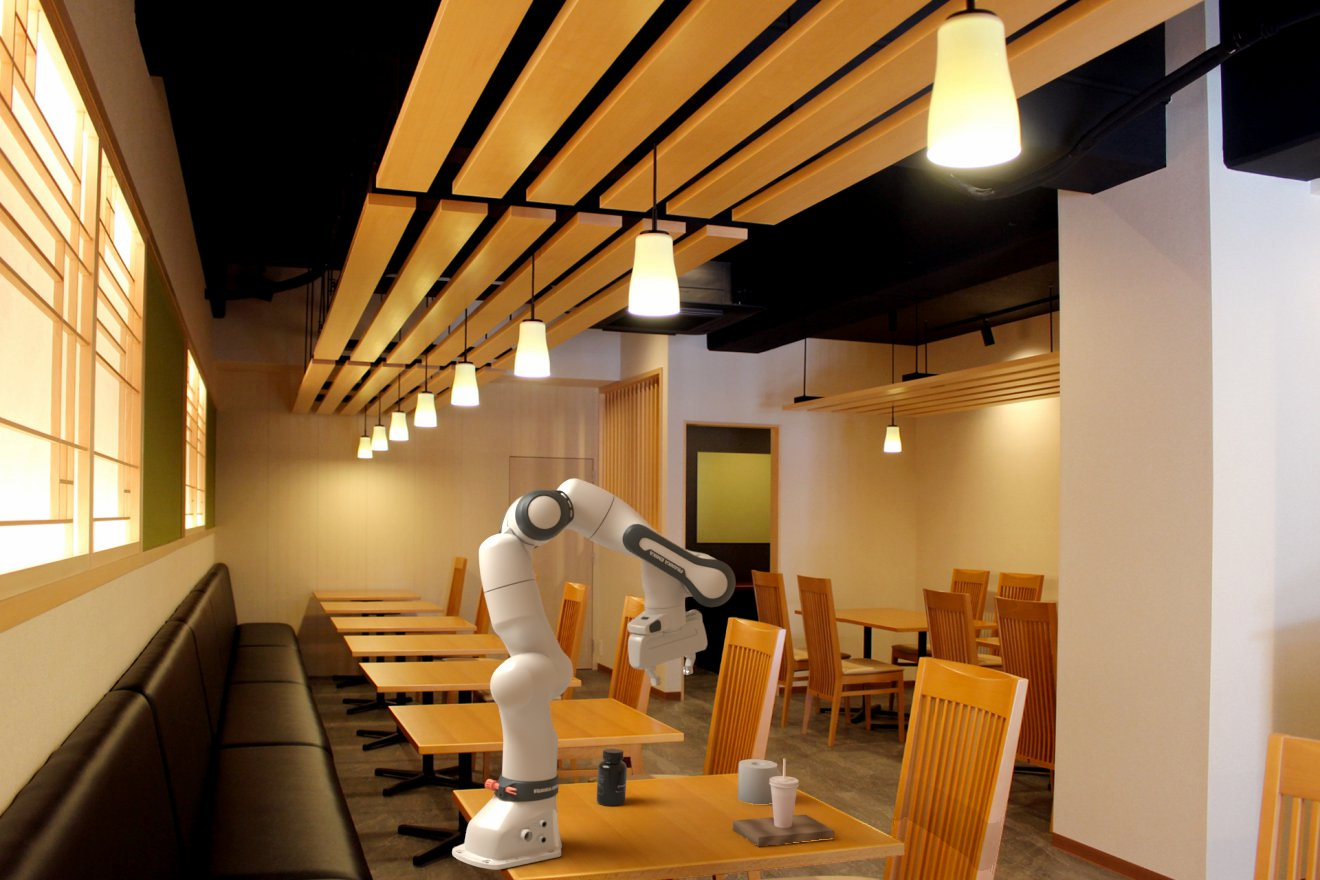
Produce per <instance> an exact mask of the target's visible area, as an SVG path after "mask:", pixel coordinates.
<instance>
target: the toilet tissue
mask: <svg viewBox="0 0 1320 880" xmlns="http://www.w3.org/2000/svg"><path fill="white" fill-rule="evenodd" d="M737 773H738V774H737V800H738V799H739V800H741V801H743V802H747V803H753V804H769V803H772V793H771V785H770V784H769V782H770V778H771V777H775V776H783V773H781V771H780V770H779V769H778V763H776V762H774V761H772V760H766V759H758V758H757V759H756V758H755V759H754V758H753V759H752V758H751V759H750V758H749V759H744V760H740V761H739V762H738V772H737ZM739 800H738V801H739Z"/></svg>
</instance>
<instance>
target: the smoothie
mask: <svg viewBox="0 0 1320 880" xmlns="http://www.w3.org/2000/svg"><path fill="white" fill-rule="evenodd" d="M786 759H787V758H785V757H784V758H783V759H782V760H783V761H782V762H783V763H782V765H783V766H782V776H775V777H771V778H770V782H769V784H770V785H771V793H772V804H771V805H772V814H773V817H774V825H775V826H776V827H780V828H789V827H791V826H792V820H793V816H794V812H795V807H796V806H795V804H796V797H797V792H798V791H797V790H798V787H799V786H800V783H799V782H800V781H799V779H797V778H796V777H794V776H793V777H792V776H786V774H787V773H786V768H787V765H786V763H787V760H786Z"/></svg>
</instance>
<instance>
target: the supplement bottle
mask: <svg viewBox="0 0 1320 880" xmlns="http://www.w3.org/2000/svg"><path fill="white" fill-rule="evenodd" d="M601 756H602V757H601V758H602V761H599V764H598V765H597V784H596V802H597V804H599V805H601V806H605V807H618V806H619V807H620V806H622V805H624V804H625V803H626V795H627V773H628V771H627V770H628V767H627V764H626V763H625V762H624V761H623V760H624V751H623V750H622V749H619V748H606V749H603V751H602V755H601Z"/></svg>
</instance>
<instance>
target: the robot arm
mask: <svg viewBox="0 0 1320 880" xmlns="http://www.w3.org/2000/svg"><path fill="white" fill-rule="evenodd" d="M564 529H566V530H571V531H573V532H577V533H578V534H579V535H581V536H582V537H584V538H586V539H588V541H591V542H593V543H594V544H596V545H599V546H601V547H603V548H606V549H608V550H611V551H613V552H617V553H619V554H620V553H621V554H623V555H626V556H629V557H634V558H635V559H639V560H640V574H641V586H642V587H641V588H642V590H643V593H644V603H643V607H644V610H643V611H642V612H641V613H640V614H639V615H637V616H635V618H633V619H632V620H630V621H629V622H627V631H628V633H631V634H630V636H629V637H628V641H627V646H628V647H627V649H628V650H627V651H628V661H629V665H630V666H631V667H632V668H633V669H635V670H641V671H643V670H644V671H645V673H646V674H647V676H648V677H649V679H650V684H651V686H654V687H657V686H659V685H661V684H662V682H661V680H662V678H661V676H659V675H657V674H656V672H655V671H657V668H656V666H658V665H661V664H664V663H668V662H671V661H673V660H676V659H680V658H683V657H684V658H686V659H685V664H684V666H682V670H683V671H682V673H683V675H686V676H689V675H691V674H693V673H694V670H693V669H694V668H693V667H694V663H695V661H696V658H697V657H696V653H698V652H701V651H705V650H706V649H707V648H708V647H707V646H708V638H707V633H706V632H707V631H706V628H705V625H704V622H703V621H704V620H703V615H702V613H701V611H699V610H697V609H695V608H694V609H691V610H689V611H686V606H685V605H686V604H685V599H686V598H688V597H689V598H690V597H692V598H693V599H694V600H695V601H696V602H697V603H698V604H700V605H702V606H703V607H707V608H716V607H720V606H722V605H724V604H726V603H727V602H728V601H729V599H731V597H732V596H733V594H734V592H735V588H736V583H737V582H736V575H735V572H734V570H733V569H732V568H731V566H729V565H728V564H727V563H725V562H724V561H722V560H718V559H716V558H715V557H713V556H710V555H709V554H706V553H703V552H698V551H692V550H689V549H686V548H683V547H681V546H680V545H678V544H676V543H674V542H672V541H670V540H669V539H668V538H666V537H665V536H663V535H661V534H660V532H658V531H657V530H655V529H654V527H652V525H650V523H649V522H647V521H646V519H645V518H644V517H642V515H641V514H640V513H639V512H637V510H635V509H634V508H633V507H631V506H630V505H629V504H628V503H627V502H625V500H623V499H621V498H619V497H618V496H616V495H615V494H613V493H612V492H609V491H608V490H605V489H604V488H603V487H600V486H597V485H596V484H593V483H590V482H588V481H585V480H583V479H580V478H576V477H575V478H574V477H573V478H569V479H567V480H565V481H564V482H563V483H561V484H560V485H559V487H557V489H552V490H551V489H536V490H531V491H529V492H527V493H525V494H524V495H522V496H520V497H519V498H517V499H516V500H514V501H513V503H512V504H511V505H510V506H509V507H508V508H507V509H506V511H505V513H504V514H503V517H502V519H501V524H500V528H499V531H498V533H497V534H494V535H493V534H492V535H491V536H489V537H488V538H486V539H485V540H484V541H483V542H482V543H481V544H480V546H479V549H478V562H479V563H478V564H479V574H480V581H481V585H482V590H483V594H484V595H483V596H484V598H485V599H484V600H485V603H486V608H487V611H488V614H489V619H490V622H491V627H492V629H493V631H494V633H495V634H496V635H497V636H498V637H499V638H500V640H501V641H502V644H503V645H504V646H505V648H506V650H507V652H508V654H509V656H510V657H509V658H507V659H505V660H504V661H503V662H502V663H501V664H500V665H499V666H498V667H497V668H496V669H495V670H494V671H493V673H492V676H491V678H490V681H489V688H490V694H491V697H492V699H493V700H494V702H495V703H496V705H497V706H498V712H499V716H500V717H499V718H500V722H501V727H502V728H501V729H502V739H503V740H502V741H503V742H502V766H501V767H502V768H501V769H502V770H501V771H502V772H501V773H500V776H499V778H498V779H497V780H493V779H491V778H488V779H487V780H486V782H484V788H485V789H486V790H489V791H492V792H493V794H494V795H493V796H492V798H490V800H489V801H488V802H487V803H486V804H485V805H484V806H483V807H482V808H481V809H480V810H479V811H478V812H477V814H475V815H474V816H473V817H472V818H471V819H470V820H469V822H468V824H467V827H466V831H465V832H466V833H465V838H464V842H463V843H462V844H459V845H457V846H454V847H453V848H452V851H451V853H452V856H453V857H454V858H456V859H457V860H458V861H461V862H463V863H465V864H467V865H471V866H474V867H478V868H480V869H481V868H483V869H487V870H498V871H499V870H503V869H507V868H508V869H509V868H512V867H518V866H522V865H523V866H524V865H527V864H531V863H532V864H533V863H537V862H540V861H546V860H551V859H555V858H559V857H561V856H562V847H563V844H562V840H561V834H560V830H559V829H560V827H559V814H558V807H557V806H558V805H557V795H558V794H559V787H560V785H559V784H560V783H559V779H560V778H559V775H558V772H557V770H558V750H559V749H558V748H559V737H558V733H557V731H556V730H555V728H554V723H553V718H552V712H551V703H552V702H551V701H553V700H555V699H557V698H559V697H560V696H561V695H562V694H564V693H565V691H566V690H567V689H568V687H569V686H570V684H571V682H572V680H573V678H574V667H573V663H572V661H571V659H570V658H569V656H568V655H567V654H566V653H565V652H564V651H563V649H562V648H561V645H560V643H559V641H558V639H557V637H556V635H555V632H554V631H553V628H552V626H551V624H550V622H549V620H548V617H547V615H546V611H545V608H544V604H543V599H542V596H541V593H540V589H539V586H538V581H537V578H536V574H535V569H534V567H533V561H532V560H533V558H532V557H533V551H534V550H535V549H537V548H538V547H540V546H543V545H545V544H547V543H548V542H550V541H551V540H553V539H554V538H555V537H557V536H558V535H559V534H561V533H562V531H564Z"/></svg>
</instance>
